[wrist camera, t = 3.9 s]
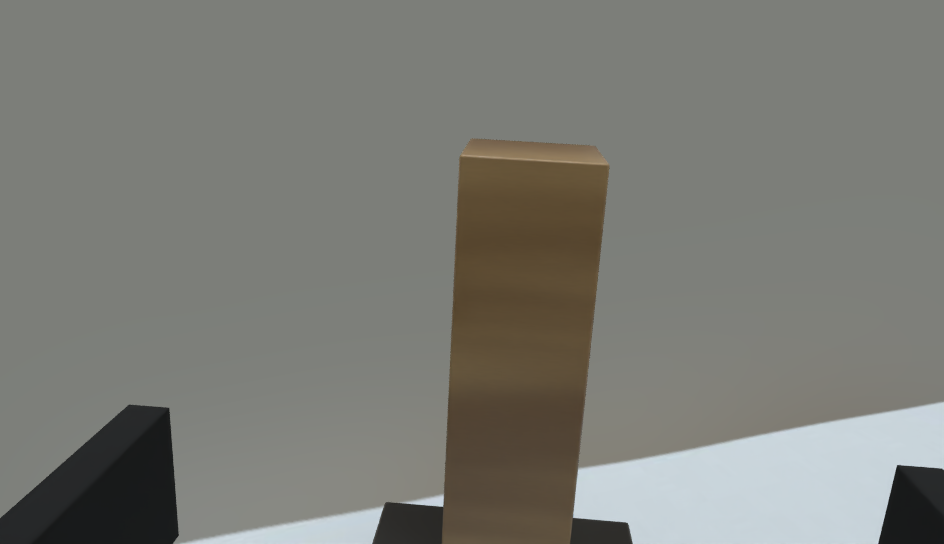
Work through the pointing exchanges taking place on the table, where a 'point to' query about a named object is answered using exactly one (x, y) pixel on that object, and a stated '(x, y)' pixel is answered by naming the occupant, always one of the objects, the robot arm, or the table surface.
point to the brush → (518, 350)
